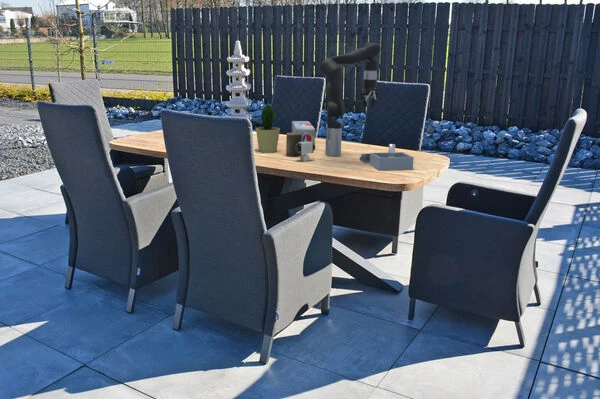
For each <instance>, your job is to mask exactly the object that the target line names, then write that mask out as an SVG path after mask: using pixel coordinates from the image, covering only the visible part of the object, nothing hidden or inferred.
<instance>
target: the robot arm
mask: <svg viewBox="0 0 600 399" xmlns="http://www.w3.org/2000/svg"><path fill="white" fill-rule="evenodd" d="M380 53H381V46H380V44H379V43H377V42H366V43H365V44H363V47H359V48H357V49H354V50H352V51H350V52H347V53H343V54H339V55H335V56H331V57H328V58H325V59H324V60H322V61H321V63H320V64H319V66H318V68H319V72H320V73H321V74H323V76H324V77H326V78H325V79H327V80H328V83H327V84H326V87H325V91H326V92H325V93H326V96H327V99H329V102H327V105H326V106H327V107H326V114H327V115H326V139H325V152H324V153H325V156H327V157H340V156H341V155H342V136H343V134H342V132H343V131H342V130H343V124H342V122H340V121H337V120H335V119H334V118H342V117H344V116H345V113H346V106H345V102H344V98H343V95H344V94H343V87H342V69H341V67H340V65H355V64H358V63H360V62H362V61H364V72H363V88H364V89H363V88H361V89H360V98H359V99H360V100H362V107H363V108H367V104H368V102H367V100H368V99H369V98H371V105H370V106H371V107H375V106H376V101H377V99H379V88H377V82H378V73H377V72H378V71H377V70H378V62H377V60H376V59H374V57H376V56H378V55H379V54H380Z"/></svg>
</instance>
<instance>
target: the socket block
mask: <svg viewBox="0 0 600 399" xmlns="http://www.w3.org/2000/svg"><path fill="white" fill-rule="evenodd" d="M359 162H362V163H363V162H364V163H363V164H370V153H361V156H359Z"/></svg>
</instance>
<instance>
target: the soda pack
mask: <svg viewBox="0 0 600 399" xmlns="http://www.w3.org/2000/svg"><path fill="white" fill-rule="evenodd" d="M291 133H301V134H302V142H304V141H306V142H313V143H314V144H315V145H316V129H315V127H314V126H313V125H312V123H311V122H310V121H308V120H299V121H298V120H291Z"/></svg>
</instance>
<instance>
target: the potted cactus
mask: <svg viewBox="0 0 600 399" xmlns="http://www.w3.org/2000/svg"><path fill="white" fill-rule="evenodd" d="M260 119H261V124H262V126H259V127H256V128H255V133H256V138H257V146H258V152H259V153H262V154H264V153H265V154H274V153H277V151H278V150H277V149H278V143H279V137H280V130H281V128H279V127H275V126H274V127H273V124H274V120H276V113H275V110H274V107H273V106H271V105H268V104H266V105H264V107H262V110H261V114H260Z"/></svg>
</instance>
